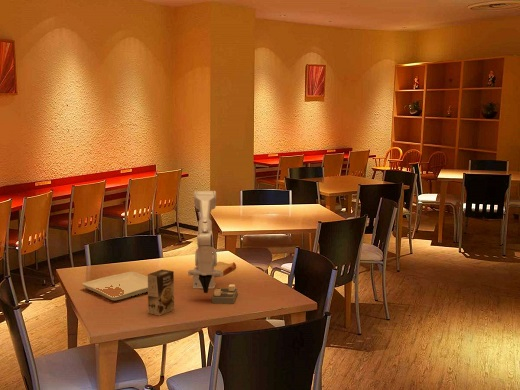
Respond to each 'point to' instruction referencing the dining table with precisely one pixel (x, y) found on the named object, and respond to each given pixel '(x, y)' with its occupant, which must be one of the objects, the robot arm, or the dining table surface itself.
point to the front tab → (217, 292)
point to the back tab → (231, 287)
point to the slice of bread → (224, 267)
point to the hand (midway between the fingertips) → (205, 292)
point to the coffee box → (160, 292)
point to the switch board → (225, 296)
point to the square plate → (128, 283)
